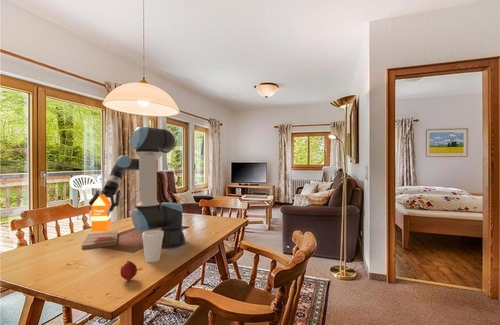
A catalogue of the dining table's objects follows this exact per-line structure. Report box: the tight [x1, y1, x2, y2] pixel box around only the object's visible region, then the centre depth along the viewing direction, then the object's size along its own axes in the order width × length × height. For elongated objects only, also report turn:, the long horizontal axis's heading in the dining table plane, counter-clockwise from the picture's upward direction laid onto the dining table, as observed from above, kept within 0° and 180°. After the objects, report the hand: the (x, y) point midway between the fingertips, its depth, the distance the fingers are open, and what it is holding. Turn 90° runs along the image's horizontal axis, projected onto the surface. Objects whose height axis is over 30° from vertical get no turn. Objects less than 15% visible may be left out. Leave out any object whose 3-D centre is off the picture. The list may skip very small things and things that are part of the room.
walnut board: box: [81, 230, 119, 250], centre depth 144 cm, size 22×16×2 cm
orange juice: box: [90, 194, 112, 233], centre depth 144 cm, size 8×9×20 cm
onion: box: [120, 260, 138, 282], centre depth 98 cm, size 6×6×8 cm
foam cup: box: [141, 229, 164, 263], centre depth 119 cm, size 10×9×13 cm
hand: (98, 215), depth 141 cm, fingers closed on orange juice, 9 cm apart
